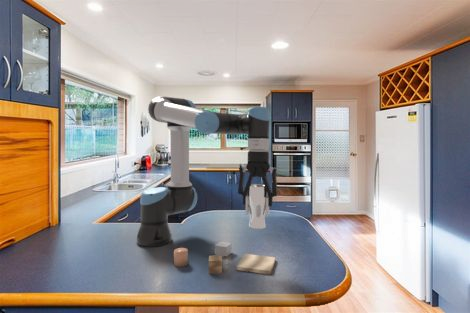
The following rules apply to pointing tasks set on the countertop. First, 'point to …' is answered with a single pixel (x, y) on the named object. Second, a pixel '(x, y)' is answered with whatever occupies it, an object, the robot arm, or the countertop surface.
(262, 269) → the beech board
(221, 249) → the grey plastic box
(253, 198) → the silver metal cup
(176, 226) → the countertop surface
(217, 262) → the oak cube
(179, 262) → the peach rounded capsule
